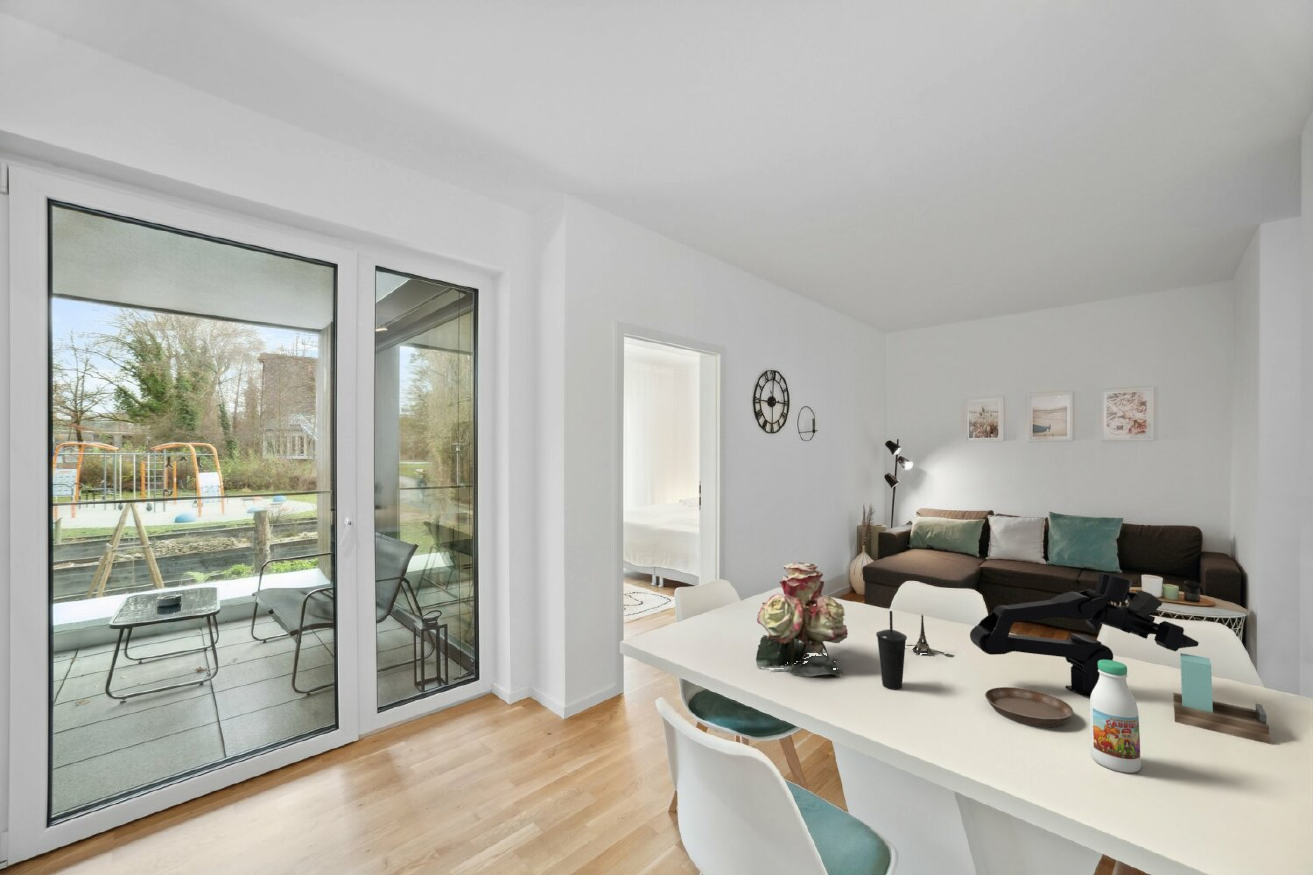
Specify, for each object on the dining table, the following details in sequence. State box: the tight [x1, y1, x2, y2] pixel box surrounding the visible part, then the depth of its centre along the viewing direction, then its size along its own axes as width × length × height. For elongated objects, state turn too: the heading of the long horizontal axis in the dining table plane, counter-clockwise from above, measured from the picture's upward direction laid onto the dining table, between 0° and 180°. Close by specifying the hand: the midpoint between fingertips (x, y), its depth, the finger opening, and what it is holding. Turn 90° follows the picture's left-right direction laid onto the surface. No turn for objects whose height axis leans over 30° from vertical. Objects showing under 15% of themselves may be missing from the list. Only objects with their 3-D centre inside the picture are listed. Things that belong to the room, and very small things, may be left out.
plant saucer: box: [984, 686, 1074, 728], centre depth 133 cm, size 18×18×3 cm
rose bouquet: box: [755, 561, 849, 678], centre depth 166 cm, size 26×29×30 cm
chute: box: [1172, 692, 1272, 745], centre depth 128 cm, size 15×13×5 cm
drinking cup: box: [875, 610, 908, 691], centre depth 149 cm, size 8×8×20 cm
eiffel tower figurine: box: [906, 614, 955, 658], centre depth 174 cm, size 15×10×13 cm
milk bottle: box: [1089, 660, 1141, 774], centre depth 111 cm, size 8×8×20 cm
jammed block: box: [1180, 653, 1213, 713], centre depth 131 cm, size 5×6×12 cm
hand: (1182, 637), depth 142 cm, fingers open, 9 cm apart
